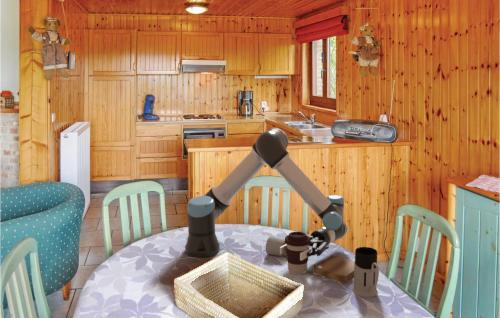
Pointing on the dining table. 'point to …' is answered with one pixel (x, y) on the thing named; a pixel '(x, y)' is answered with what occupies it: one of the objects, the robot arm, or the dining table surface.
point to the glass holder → (365, 272)
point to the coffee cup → (296, 251)
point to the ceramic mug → (274, 246)
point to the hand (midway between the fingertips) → (290, 253)
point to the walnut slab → (335, 269)
